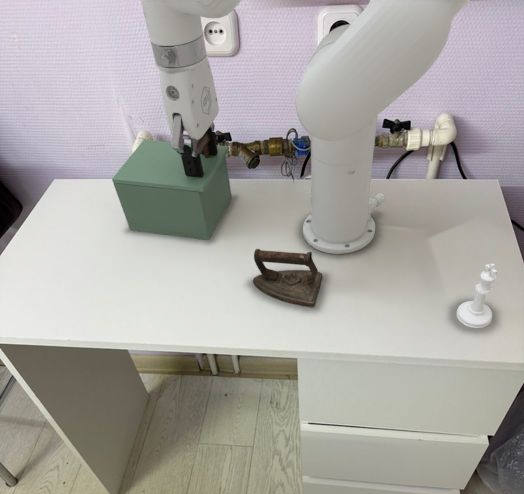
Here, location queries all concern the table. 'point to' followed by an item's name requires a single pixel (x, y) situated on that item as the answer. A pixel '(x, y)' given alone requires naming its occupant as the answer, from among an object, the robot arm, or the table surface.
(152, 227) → the bin
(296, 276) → the clothes iron
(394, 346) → the table surface
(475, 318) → the chess piece
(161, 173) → the bin lid
